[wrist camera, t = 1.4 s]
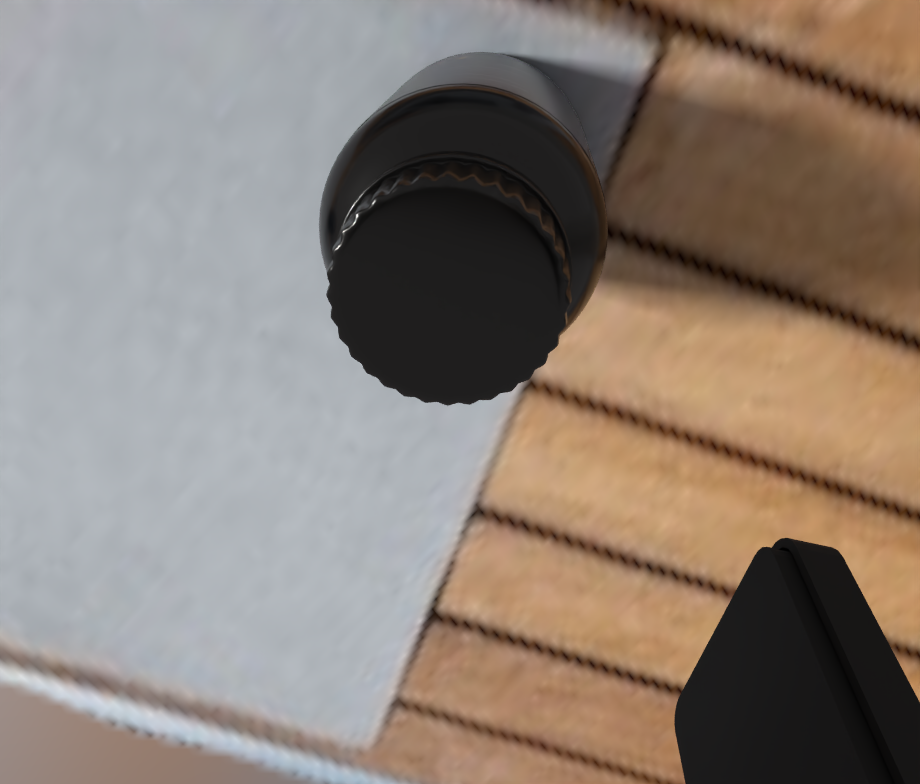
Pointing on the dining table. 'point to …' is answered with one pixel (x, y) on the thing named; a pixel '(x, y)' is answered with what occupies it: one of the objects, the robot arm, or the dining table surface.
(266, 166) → the dining table surface
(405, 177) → the supplement bottle
